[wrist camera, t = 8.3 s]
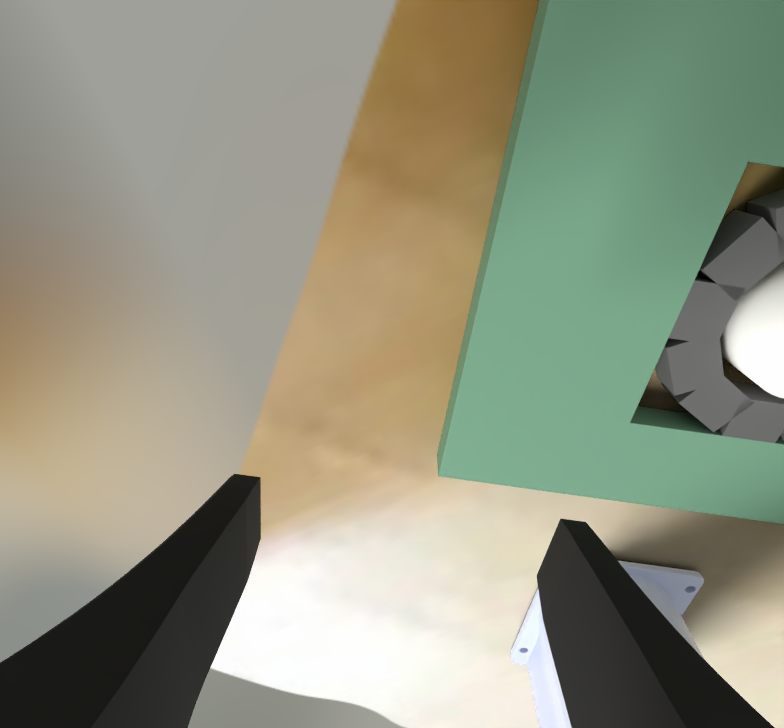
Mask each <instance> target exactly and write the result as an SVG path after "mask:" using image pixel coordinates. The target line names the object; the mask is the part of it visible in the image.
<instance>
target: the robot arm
mask: <svg viewBox="0 0 784 728" xmlns="http://www.w3.org/2000/svg"><path fill="white" fill-rule="evenodd" d="M260 539H261V508H260V477H254V476H246V475H239V474H234V475H233V476H231V477H230V478H229V479H228V480H227V481H226V482H225V483H224V484H223V485H222V486H221V487H220V488H219V489H218V490H217V491H216V493H214V494H213V495H212V496H211V497H210V498H209V499H208V500H207V501H206V502H205V503H204V504H203V505H202V506H201V507H200V508H199V509H198V510H197V511H196V512H195V513H194V514H193V515H192V516H191V517H190V518H189V519H188V520H187V521H186V522H185V523H184V524H182V525H181V526H180V527H179V528H178V529H177V530H176V531H175V532H174V533H173V534H172V535H171V536H169V537H168V538H167V539H166V540H165V541H164V542H163V543H162V544H161V545H160V546H158V547H157V548H156V549H155V550H154V551H152V552H151V553H150V554H149V555H148V556H147V557H145V558H144V559H143V560H142V561H141V562H139V563H138V564H137V565H136V566H135V567H134V568H132V569H131V570H130V571H129V572H128V573H127V574H125V575H124V576H123V577H121V578H120V579H119V580H118V581H116V582H115V583H114V584H113V585H111V586H110V587H109V588H108V589H106V590H105V591H104V592H102V593H101V594H100V595H98V596H97V597H96V598H94V599H93V600H92V601H90V602H89V603H88V604H86V605H85V606H84V607H82V608H81V609H79V610H78V611H77V612H75V613H74V614H73V615H71V616H70V617H68V618H67V619H66V620H64V621H63V622H61V623H60V624H58V625H57V626H55V627H54V628H52V629H51V630H49V631H48V632H47V633H45V634H44V635H42V636H41V637H39V638H38V639H37V640H35V641H33V642H32V643H30V644H29V645H27V646H26V647H24V648H23V649H21V650H20V651H18V652H16V653H15V654H13V655H12V656H10V657H9V658H7V659H5V660H4V661H2V662H1V663H0V728H187V727H188V724H189V721H190V719H191V716H192V712H193V709H194V707H195V704H196V701H197V699H198V696H199V694H200V691H201V688H202V686H203V683H204V681H205V678H206V676H207V674H208V672H209V669H210V667H211V665H212V662H213V660H214V658H215V655H216V653H217V651H218V648H219V646H220V644H221V641H222V639H223V637H224V635H225V632H226V630H227V628H228V625H229V623H230V621H231V618H232V616H233V614H234V611H235V609H236V607H237V604H238V602H239V600H240V597H241V595H242V593H243V590H244V588H245V586H246V583H247V581H248V578H249V574H250V571H251V568H252V565H253V562H254V559H255V555H256V552H257V549H258V545H259V542H260ZM537 582H538V589H537V592H536V594H535V596H534V599H533V601H532V603H531V606H530V608H529V610H528V613H527V615H526V617H525V620H524V622H523V624H522V627H521V629H520V631H519V634H518V636H517V639H516V641H515V643H514V646H513V648H512V650H511V653H510V658H511V661H512V662H513V663H515V664H518V665H526V666H527V668H528V673H529V678H530V683H531V688H532V693H533V698H534V704H535V709H536V714H537V719H538V724H539V728H774V727H773V726H772V725H771V724H770V723H769V722H768V721H767V720H766V719H765V718H763V717H762V716H761V715H760V714H759V713H758V712H757V711H756V710H755V709H754V708H753V707H752V706H751V705H750V704H749V703H748V702H747V701H745V700H744V699H743V698H742V697H741V696H740V695H739V694H738V693H737V692H736V691H735V690H734V689H733V688H732V687H731V686H730V685H729V684H728V683H727V682H726V681H725V680H724V679H723V678H722V677H721V676H720V675H719V674H718V673H717V672H716V671H715V670H714V669H713V668H712V667H711V666H710V665H709V664H708V663H707V662H706V661H705V660H704V658H703V656H702V654H701V652H700V650H699V648H698V646H697V645H696V643H695V641H694V639H693V637H692V635H691V633H690V631H689V630H688V628H687V626H686V624H685V622H684V620H683V618H682V614H683V613H684V612H685V610H686V609H687V607H688V606H689V604H690V603H691V601H692V600H693V598H694V597H695V595H696V594H697V592H698V591H699V589H700V588H701V586H702V585H703V583H704V579H703V577H702V576H701V574H700V573H699V572H696V571H691V570H684V569H676V568H669V567H662V566H654V565H647V564H640V563H632V562H625V561H618V560H617V559H616V558H615V557H614V556H613V555H612V553H611V552H610V551H609V550H608V548H607V547H606V546H605V545H604V543H603V542H602V541H601V540H600V539H599V537H598V536H597V535H596V534H595V532H594V531H593V530H592V529H591V528H590V527H589V525H588V524H587V523H586V522H581V521H573V520H566V519H560V521H559V524H558V526H557V529H556V531H555V533H554V536H553V538H552V541H551V543H550V545H549V548H548V550H547V553H546V555H545V557H544V560H543V562H542V565H541V567H540V569H539V572H538V574H537Z"/></svg>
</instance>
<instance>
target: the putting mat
mask: <svg viewBox="0 0 784 728" xmlns="http://www.w3.org/2000/svg"><path fill="white" fill-rule="evenodd" d="M748 162H751V163H757V164H764V165H771V166H777V167H784V0H539V4H538V8H537V13H536V17H535V22H534V26H533V31H532V35H531V40H530V44H529V49H528V53H527V57H526V62H525V66H524V71H523V75H522V80H521V84H520V89H519V93H518V97H517V102H516V106H515V111H514V115H513V120H512V124H511V129H510V133H509V137H508V142H507V146H506V151H505V155H504V160H503V164H502V169H501V173H500V178H499V182H498V186H497V191H496V195H495V200H494V204H493V209H492V213H491V218H490V222H489V226H488V231H487V235H486V240H485V244H484V249H483V253H482V258H481V262H480V266H479V271H478V275H477V280H476V284H475V289H474V293H473V298H472V302H471V306H470V311H469V315H468V320H467V324H466V329H465V333H464V338H463V342H462V347H461V351H460V355H459V360H458V364H457V369H456V373H455V378H454V382H453V387H452V391H451V395H450V400H449V404H448V409H447V413H446V418H445V422H444V427H443V431H442V435H441V440H440V444H439V449H438V453H437V461H438V476H440V477H448V478H455V479H462V480H469V481H477V482H484V483H491V484H498V485H505V486H513V487H520V488H527V489H534V490H542V491H549V492H556V493H563V494H570V495H578V496H585V497H592V498H599V499H607V500H614V501H621V502H628V503H635V504H643V505H650V506H657V507H664V508H672V509H679V510H686V511H693V512H700V513H708V514H715V515H722V516H729V517H737V518H744V519H751V520H758V521H765V522H773V523H780V524H784V398H780V397H777V396H774V395H772V394H770V393H768V392H766V391H765V390H764V389H762V388H761V387H760V386H759V385H756V384H749V383H742V382H735V381H729V380H728V379H727V378H726V377H725V376H724V372H723V363H722V354H721V344H720V337H721V335H722V333H723V331H724V329H725V327H726V325H727V323H728V322H729V320H730V318H731V316H732V314H733V312H734V310H735V308H736V306H737V304H738V302H739V300H740V298H741V296H742V295H743V294H744V293H745V292H747V291H748V290H749V289H750V288H751V287H753V286H754V285H755V284H756V283H757V282H759V281H760V280H761V279H762V278H764V277H765V276H766V275H767V274H768V273H770V272H771V271H772V270H773V269H774V268H776V267H777V266H778V265H779V264H781V263H782V262H783V261H784V189H781V190H778V191H775V192H773V193H770V194H767V195H764V196H761V197H759V198H756V199H753V200H750V201H748V202H746V203H747V213H746V212H742V211H739V210H735V209H734V210H733V211H732V212H731V213H730V214H729V215H727V216H726V217H725V218H724V219H723V216H724V214H725V212H726V210H727V208H728V205H729V203H730V201H731V199H732V196H733V194H734V192H735V190H736V188H737V185H738V183H739V181H740V179H741V177H742V174H743V172H744V170H745V168H746V166H747V163H748ZM722 219H723V220H722ZM654 369H656V374H657V378H658V379H659V380H660V381H661V382H662V386H663V387H664V388H665V389H666V390H667V391H668V392H669V393H670V394H671V395H672V396H673V397H674V398H675V400H676V401H677V402H678V403H679V404H680V405H682V406H683V407H684V408H685V409H686V410H688V411H689V412H690V413H691V414H690V413H683V412H676V411H669V410H662V409H655V408H648V407H641V406H638V404H639V402H640V399H641V397H642V395H643V393H644V391H645V388H646V386H647V384H648V382H649V380H650V377H651V375H652V373H653V371H654Z"/></svg>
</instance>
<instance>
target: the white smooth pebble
mask: <svg viewBox="0 0 784 728" xmlns="http://www.w3.org/2000/svg"><path fill="white" fill-rule="evenodd" d="M720 344H721V354H722V357H723V358H724V359H725V360H726V361H728V362H729V363H730V364H732V365H733V366H734V367H735V368H737V369H738V370H739V371H741V372H742V373H743V374H744V375H746V376H747V377H748V378H750V379H751V380H752V381H753V382H755V383H756V384H757V385H759V386H760V387H761V388H762V389H764V390H765V391H766V392H768V393H770V394H772V395H774V396H777V397H780V398H784V261H783V262H782V263H781V264H779V265H778V266H777V267H776V268H774V269H773V270H772V271H771V272H770V273H768V274H767V275H766V276H765V277H764V278H762V279H761V280H760V281H759V282H757V283H756V284H755V285H754V286H753V287H751V288H750V289H749V290H748V291H747V292H745V293H744V294H743V295H742V296H741V298H740V300H739V302H738V304H737V306H736V308H735V310H734V312H733V314H732V316H731V318H730V320H729V322H728V323H727V325H726V327H725V329H724V331H723V333H722V335H721V337H720Z"/></svg>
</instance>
